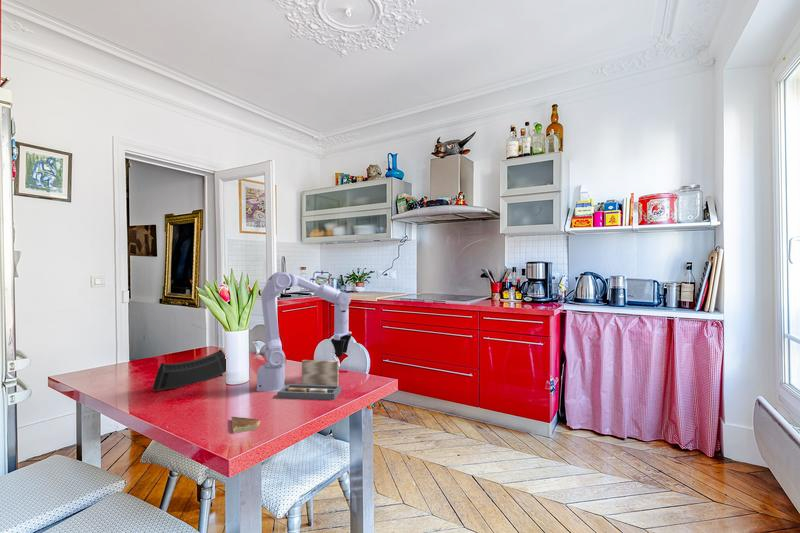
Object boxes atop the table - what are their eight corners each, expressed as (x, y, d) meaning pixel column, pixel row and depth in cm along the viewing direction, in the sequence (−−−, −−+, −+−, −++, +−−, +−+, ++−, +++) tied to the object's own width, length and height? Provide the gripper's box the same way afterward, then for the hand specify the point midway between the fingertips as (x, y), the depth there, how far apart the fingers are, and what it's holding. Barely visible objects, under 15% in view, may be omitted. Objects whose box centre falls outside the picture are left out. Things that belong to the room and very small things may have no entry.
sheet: (301, 386, 147) (301, 360, 147) (303, 385, 148) (303, 359, 148) (337, 388, 145) (337, 361, 145) (338, 386, 147) (338, 360, 147)
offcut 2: (308, 397, 133) (308, 390, 133) (310, 395, 135) (310, 388, 135) (325, 397, 132) (325, 390, 132) (327, 395, 134) (327, 388, 134)
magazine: (150, 370, 136) (222, 334, 161) (145, 369, 138) (217, 334, 163) (164, 412, 140) (232, 371, 165) (159, 411, 142) (227, 370, 167)
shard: (231, 421, 114) (231, 415, 114) (258, 417, 118) (258, 411, 118) (232, 435, 104) (232, 428, 105) (261, 430, 108) (261, 424, 108)
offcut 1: (288, 396, 133) (288, 389, 133) (290, 394, 135) (290, 387, 135) (304, 397, 133) (304, 389, 133) (306, 395, 135) (306, 388, 135)
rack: (277, 399, 132) (277, 392, 132) (288, 390, 142) (288, 383, 142) (333, 401, 130) (333, 394, 130) (341, 392, 140) (341, 385, 140)
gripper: (346, 323, 148) (346, 359, 148) (355, 319, 162) (355, 351, 162) (329, 323, 148) (329, 358, 148) (338, 318, 163) (338, 350, 163)
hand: (341, 354), depth 155 cm, fingers open, 7 cm apart
